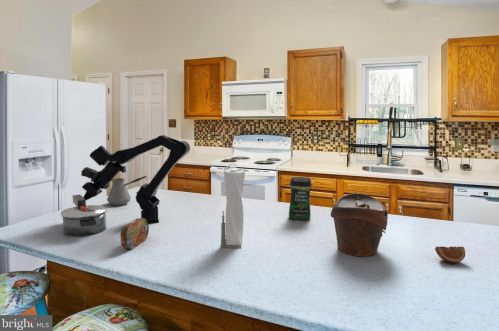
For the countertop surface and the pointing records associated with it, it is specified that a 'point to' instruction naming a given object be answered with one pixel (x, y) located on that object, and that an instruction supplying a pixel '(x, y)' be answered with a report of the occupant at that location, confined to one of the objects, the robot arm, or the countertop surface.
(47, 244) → the countertop surface
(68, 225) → the cooker pot
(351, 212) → the brown flower pot
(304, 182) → the coffee jar
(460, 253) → the fruit slice
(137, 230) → the tin
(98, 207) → the cooker lid
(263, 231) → the countertop surface
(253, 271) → the countertop surface
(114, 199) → the coffee pot
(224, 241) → the skyscraper
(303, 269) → the countertop surface
